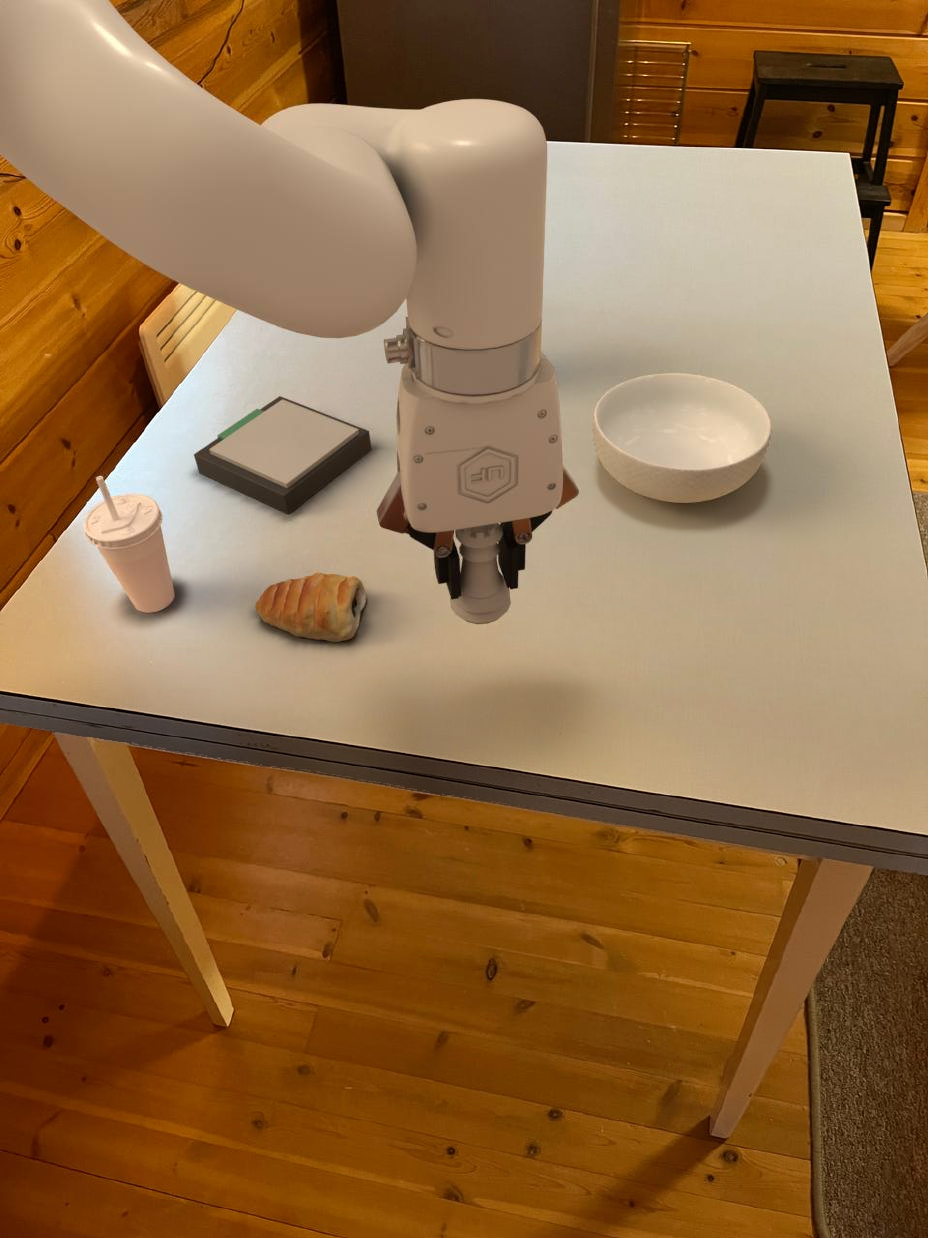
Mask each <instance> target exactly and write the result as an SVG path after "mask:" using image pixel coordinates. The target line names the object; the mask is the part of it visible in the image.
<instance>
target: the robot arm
mask: <svg viewBox="0 0 928 1238" xmlns="http://www.w3.org/2000/svg"><path fill="white" fill-rule="evenodd" d="M0 156H1V157H2V158H4V159H5V160H6V162H8V163H10V165H12V166H13V168H15V169H16V170H17V171H18V172H20V173H21V174H22V175H23V176H24V177H25V179H27V180H28V181H30V182H31V183H32V184H33V185H34V186H35V187H37V188H38V189H39V190H40V191H42V192H43V193H44V194H46V195H47V196H48V197H50V198H51V199H53V200H54V201H56V202H57V203H58V204H59V205H61V206H62V207H64V208H65V209H66V210H68V211H70V212H71V213H72V214H73V215H74V216H76V217H77V218H78V219H79V220H81V221H83V222H84V223H85V224H86V225H88V226H89V227H90V228H92V229H93V230H94V231H96V232H97V233H99V234H100V235H101V236H102V237H104V238H105V239H106V240H107V241H109V242H111V243H112V244H113V245H115V246H116V247H118V248H119V249H121V250H122V251H124V253H126V254H128V255H130V256H131V257H133V258H134V259H135V260H137V261H139V262H140V263H142V264H144V265H145V266H147V267H149V268H151V269H152V270H154V271H156V272H157V273H159V274H161V275H163V276H165V277H167V278H168V279H170V280H171V281H174V282H176V283H178V284H181V285H182V286H184V287H186V288H188V289H190V290H192V291H195V292H197V293H199V294H202V295H205V296H206V297H208V298H210V299H212V300H215V301H217V302H219V303H222V304H223V305H226V306H228V307H230V308H233V309H235V310H237V311H240V312H242V313H244V314H246V315H249V316H250V317H253V318H256V319H259V321H263V322H266V323H268V324H269V325H273V326H276V327H278V328H281V329H284V330H287V331H290V332H293V333H297V334H300V335H305V336H311V337H316V338H321V339H344V338H352V337H357V336H360V335H363V334H366V333H369V332H372V331H374V330H376V328H378V327H380V326H381V325H383V324H385V323H386V322H387V321H388V320H390V319H391V317H393V316H394V315H395V314H396V313H397V312H398V311H399V309H400V308H401V306H402V305H403V303H404V302H405V301H406V313H407V314H406V315H407V316H405V328H402V334H397V335H396V337H392V338H383V349H384V355H385V359H386V363H387V364H394V363H395V364H396V363H400V365H403V367H402V368H401V372H400V379H399V386H398V392H397V405H396V427H395V428H396V435H395V436H396V440H395V441H396V470H397V472H396V475H395V477H394V478H393V480H392V481H391V484H390V486H389V487H388V489H387V491H386V493H385V495H384V496H383V498H382V500H381V502H380V503H379V505H378V507H377V509H376V511H375V512H376V516H377V520H378V524H379V527H381V528H382V529H385V530H388V531H392V532H395V533H399V534H402V535H403V534H407V535H409V537H410V538H411V539H412V540H414V541H416V542H418V543H420V544H421V545H423V546H425V547H427V548H428V549H431V550H432V551H433V561H434V571H435V577H436V581H437V584H438V585H443V584H445V585H446V587H447V590H448V595H449V597H450V598H451V600H453V599H458V598H459V596H461V576H460V572H461V558H460V553H459V550H458V547H457V544H456V542H455V539H454V537H455V530H458V529H464V528H471V527H477V526H483V525H489V524H496V523H499V525H500V526H501V527H502V530H503V535H502V537H501V539H500V540H499V541H498V542H497V543H498V545H499V549H500V551H499V553H498V555H497V564H498V568H499V570H500V573H501V574H502V576H503V578H504V580H505V583H506V586H507V588H509V590H516V589H519V572H520V571H525V570H526V554H527V553H526V551H527V550H526V549H527V544H529V543H530V542H531V541H532V540H533V532H534V531H536V529H537V528H539V526H541V525H542V524H543V523H544V522H546V520H547V519H548V518H549V517H550V516H551V515H552V514H553V511H554V510H558V509H559V508H561V507H562V506H565V504H568V503H570V502H571V501H572V500H574V499H576V498H577V497H578V496H579V494H580V489H579V488H578V486H577V483H576V482H575V480H574V478H573V476H572V475H571V473H570V472H569V471H568V468H566V467H565V465H564V456H563V455H564V454H563V436H562V435H563V434H562V432H563V431H562V417H561V406H560V405H561V404H560V397H559V387H558V382H557V377H556V372H555V368H554V365H553V364H552V362H551V361H550V360H549V359H548V358H547V355H546V354H544V353H543V352H542V330H543V329H542V327H543V326H542V325H543V300H544V299H543V298H544V273H545V272H544V270H545V269H544V267H545V242H546V241H545V239H546V210H547V185H548V183H547V182H548V143H547V138H546V133H545V130H544V127H543V126H542V124H541V122H540V121H539V120H538V119H537V117H536V116H535V115H533V114H532V112H530V111H529V110H527V109H525V108H524V107H521V106H520V105H516V104H513V103H509V102H507V101H506V102H505V101H501V100H496V99H487V98H486V99H484V98H467V99H465V98H464V99H458V100H457V99H455V100H449V101H443V102H440V103H436V104H431V105H429V106H426V107H424V108H421V109H403V108H401V109H400V108H386V107H385V108H384V107H370V106H361V105H350V104H349V105H348V104H340V103H339V104H337V103H305V104H297V105H294V106H293V105H292V106H289V107H287V108H285V109H282V110H280V111H278V112H276V113H274V114H272V115H271V116H269V117H268V118H267V119H265V120H264V121H263V122H262V123H261V124H260V123H257V122H255V121H254V120H252V119H251V118H249V117H247V116H246V115H244V114H242V113H240V112H239V111H237V110H236V109H234V108H233V107H231V106H229V105H228V104H227V103H225V102H223V101H222V100H220V99H218V98H217V97H216V96H214V95H212V93H210V92H208V91H207V90H206V89H204V88H202V86H200V85H199V84H197V83H196V82H194V81H193V80H192V79H190V78H189V77H188V76H187V75H185V74H184V73H183V72H182V71H180V70H179V69H178V68H177V67H175V65H173V64H172V63H171V62H169V61H168V60H167V59H166V58H165V57H163V56H162V55H161V54H160V53H159V52H158V51H157V50H156V49H155V48H154V47H152V46H151V45H150V44H149V43H148V42H147V41H145V39H144V38H143V37H142V36H140V34H139V33H138V32H136V30H135V29H134V28H133V27H132V26H131V25H130V23H128V21H127V20H126V19H125V18H124V17H123V16H122V15H121V14H120V12H119V11H118V10H117V8H116V7H115V6H114V5H113V4H112V3H111V1H110V0H0Z"/></svg>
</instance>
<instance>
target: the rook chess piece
mask: <svg viewBox="0 0 928 1238" xmlns="http://www.w3.org/2000/svg"><path fill="white" fill-rule="evenodd" d="M499 524H500V523H496V524H489V525H483V526H477V527H471V528H464V529H458V530H454V536H455V538H456V540H457V541H458V542H459V543H460V545H459V546H458V553H459V555H460V556H461V557H462V558H461V564H460V576H461V596H459V598H458V599H453V600H451V597H450V598H449V601H450V602H449V603H450V609H451V610H452V612H453V613H454V614H455V616H457V617H459V618H460V619H462V620H463V621H465V622H467V623H468V624H475V625H488V624H491V623H493V622H496V621H498V620H499V619H500V618H502V617H503V616H504V615H505V614H507V613H508V611H509V609H510V607H511V605H512V602H511V601H512V600H511V592H510V591H511V590H510V588H507V586H506V583H505V580H504V577H503V575H502V572H501V571H500V569H499V563H498V553H499V551H500V549H499V545H498V541H499V540H500V539H501V537H502V535H503V530H502V527H501V526H500V525H499Z"/></svg>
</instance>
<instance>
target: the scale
mask: <svg viewBox="0 0 928 1238" xmlns="http://www.w3.org/2000/svg"><path fill="white" fill-rule="evenodd" d="M370 436H371V435H370V431H369V430H368V429H365V428H364V427H363V428H362V427H359V426H358V425H355V424H352V423H350V422H347V421H345V420H342V419H340V418H337V417H334V416H332V415H330V414H327V413H324V412H321V411H320V410H316V409H314V408H311V407H309V406H306V405H304V404H302V403H299V402H296V401H293V400H291V399H288V398H286V397H283V396H281V395H279V396H277V397H276V398H275V399H273V400H272V401H270V402H269V403H267V404H266V405H264V406H263V407H261V408H260V409H259V408H256V409H254V410H253V411H251V412H249V414H247V415H245V416H244V417H242V418H241V419H240V420H238V421H236V422H234V423H233V424H232V425H230V426H228V428H226V429H225V430H222V431H221V432H220V433H219V434H217V438H216V439H214V440H213V441H211V442H210V443H208V444H207V445H205V446H203V447H202V448H201V449H200V450H198V451H196V452H195V453H193V457H194V460H195V464H196V467H197V470H198V473H199V474H201V475H203V476H205V477H207V478H209V479H212V480H214V481H216V482H218V483H220V484H222V485H224V486H226V487H229V488H230V489H233V490H236V491H237V492H239V493H242V494H244V495H246V496H247V497H250V498H252V499H254V500H257V501H258V502H261V503H263V504H264V505H268V506H269V507H271V508H274V509H275V510H278V511H280V512H282V513H285V514H287V515H290V514H291V513H293V512H294V511H295V510H296V509H298V508H299V507H300V506H301V505H303V504H304V503H306V502H307V501H308V500H310V499H311V498H312V497H313V496H315V494H317V493H319V491H321V490H322V489H323V488H324V487H326V486H327V485H329V484H330V483H331V482H332V481H334V480H335V479H336V478H337V477H339V476H340V475H341V474H342V473H344V472H345V471H346V470H347V469H349V468H350V467H352V465H354V464H355V463H356V462H358V461H359V460H360V459H361V458H363V457H364V456H366V454H368V453H369V452H371V451H372V443H371V437H370Z"/></svg>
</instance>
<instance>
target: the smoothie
mask: <svg viewBox="0 0 928 1238" xmlns="http://www.w3.org/2000/svg"><path fill="white" fill-rule="evenodd" d="M95 480H96V483H97V485H98V488H99V490H100V492H101V495H102V497H103V500H102V501H100V502H99V503H97V504H96V505H94V506H93V507H92V508H91V509H90V510H89V511H88V512H87V513H86V515H85V516H84V519H83V523H82V526H83V527H82V528H83V530H84V533H85V536H86V539H87V540H88V542H89V543H90V544H91V545H92V546H95V547H96V548H97V550H98V552H99V554H100V555H101V556H102V557H103V559H104V560H105V562H106V564H107V565H108V567H109V568H110V571H112V573H113V575H114V577H115V578H116V579H117V582H118V583H119V585H120V586H121V587H122V589H123V591H124V592H125V594H126V595H127V597H128V599H129V600H130V602H131V603H132V605H133V606H134V608H135V609H136V610H137V611H139V612H142V613H147V614H149V613H150V614H151V613H156V612H160V611H162V610H164V609H166V608H167V607H168V606H170V605H171V603H173V601H174V599H175V595H176V594H175V589H174V585H173V580H172V575H171V570H170V565H169V560H168V554H167V550H166V544H165V540H164V533H163V529H162V526H161V525H162V523H163V512H162V510H161V509H160V506H159V504H158V503H157V501H156V500H155V499H154V498H152V497H150V496H149V495H145V494H141V493H124V494H123V493H122V494H118V495H115V496H112V495H111V494H110V492H109V489H108V486H107V484H106V481H105V478H104V477H103V476H102V475H98V476H96V477H95Z"/></svg>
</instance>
